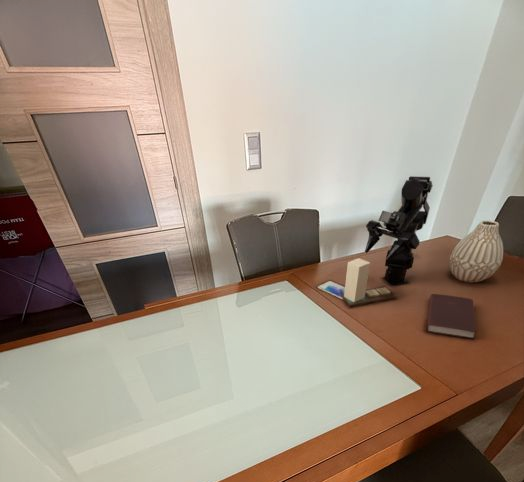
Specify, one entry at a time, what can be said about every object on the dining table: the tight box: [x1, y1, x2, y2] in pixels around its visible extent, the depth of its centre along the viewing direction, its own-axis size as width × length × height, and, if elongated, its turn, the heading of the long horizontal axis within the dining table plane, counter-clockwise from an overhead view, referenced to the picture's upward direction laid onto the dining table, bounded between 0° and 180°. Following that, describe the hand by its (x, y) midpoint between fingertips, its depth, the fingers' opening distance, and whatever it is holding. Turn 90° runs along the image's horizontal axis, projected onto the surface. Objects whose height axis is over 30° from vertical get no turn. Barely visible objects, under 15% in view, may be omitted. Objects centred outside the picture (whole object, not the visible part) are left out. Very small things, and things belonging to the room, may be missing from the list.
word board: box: [340, 285, 396, 308], centre depth 108 cm, size 17×8×2 cm, turn 102°
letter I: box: [344, 257, 371, 302], centre depth 103 cm, size 5×5×13 cm
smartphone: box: [317, 280, 345, 300], centre depth 113 cm, size 7×1×15 cm
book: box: [426, 293, 477, 339], centre depth 94 cm, size 12×19×3 cm, turn 155°
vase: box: [448, 220, 505, 284], centre depth 108 cm, size 16×16×20 cm
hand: (375, 256), depth 103 cm, fingers open, 9 cm apart
